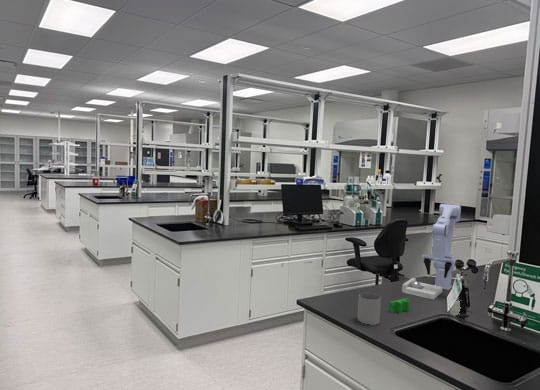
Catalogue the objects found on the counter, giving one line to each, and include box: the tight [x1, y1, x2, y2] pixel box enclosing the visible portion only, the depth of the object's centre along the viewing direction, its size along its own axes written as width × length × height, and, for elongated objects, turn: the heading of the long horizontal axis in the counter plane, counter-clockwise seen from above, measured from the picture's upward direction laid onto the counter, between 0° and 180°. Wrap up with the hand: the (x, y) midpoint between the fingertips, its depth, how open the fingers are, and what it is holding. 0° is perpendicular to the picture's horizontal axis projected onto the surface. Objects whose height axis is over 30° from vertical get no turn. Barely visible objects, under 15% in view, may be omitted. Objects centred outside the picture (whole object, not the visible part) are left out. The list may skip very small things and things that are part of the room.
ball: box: [411, 280, 421, 289], centre depth 190 cm, size 5×5×5 cm
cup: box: [357, 292, 382, 326], centre depth 149 cm, size 8×8×10 cm
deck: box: [401, 277, 444, 301], centre depth 189 cm, size 16×15×4 cm
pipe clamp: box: [388, 297, 410, 314], centre depth 161 cm, size 11×4×5 cm, turn 122°
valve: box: [449, 298, 469, 317], centre depth 162 cm, size 7×7×12 cm
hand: (436, 275), depth 183 cm, fingers open, 7 cm apart
